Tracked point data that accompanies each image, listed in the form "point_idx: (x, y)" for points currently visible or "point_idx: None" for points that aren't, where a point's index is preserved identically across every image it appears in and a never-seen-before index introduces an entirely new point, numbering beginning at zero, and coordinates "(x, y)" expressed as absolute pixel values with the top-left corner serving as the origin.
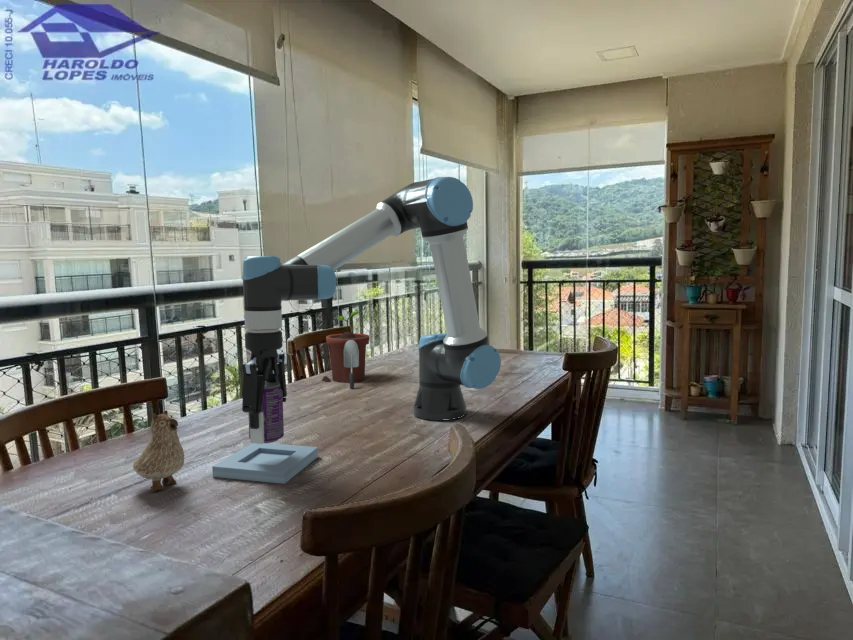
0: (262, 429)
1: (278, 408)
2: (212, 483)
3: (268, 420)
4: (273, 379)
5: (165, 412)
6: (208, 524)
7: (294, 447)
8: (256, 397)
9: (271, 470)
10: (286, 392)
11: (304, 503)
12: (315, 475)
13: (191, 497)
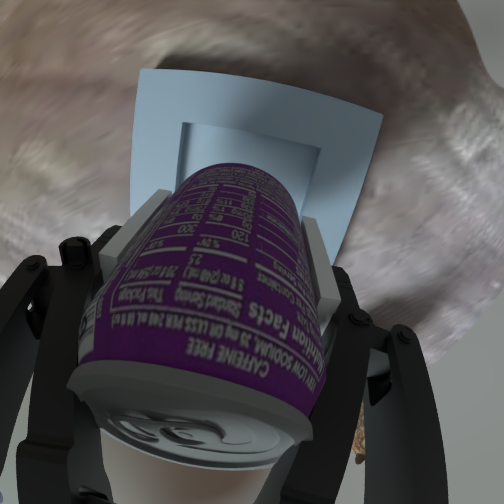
0: (320, 246)
1: (254, 231)
2: (349, 275)
3: (303, 245)
4: (81, 425)
5: (363, 459)
6: (500, 223)
7: (150, 141)
8: (404, 391)
9: (362, 154)
10: (20, 266)
11: (465, 66)
12: (309, 38)
13: (408, 285)
